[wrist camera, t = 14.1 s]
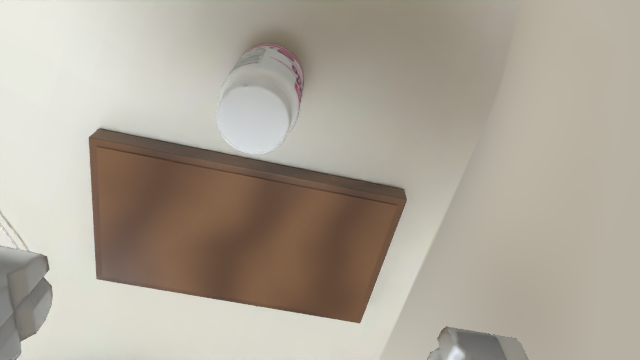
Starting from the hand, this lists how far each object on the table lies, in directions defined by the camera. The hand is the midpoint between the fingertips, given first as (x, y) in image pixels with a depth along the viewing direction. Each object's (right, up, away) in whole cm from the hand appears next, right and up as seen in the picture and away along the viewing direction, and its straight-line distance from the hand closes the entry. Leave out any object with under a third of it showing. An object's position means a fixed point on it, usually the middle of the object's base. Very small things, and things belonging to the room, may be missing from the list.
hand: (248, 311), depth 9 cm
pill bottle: (-2, +10, +22) cm, 24 cm away
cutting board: (-5, -2, +28) cm, 29 cm away
